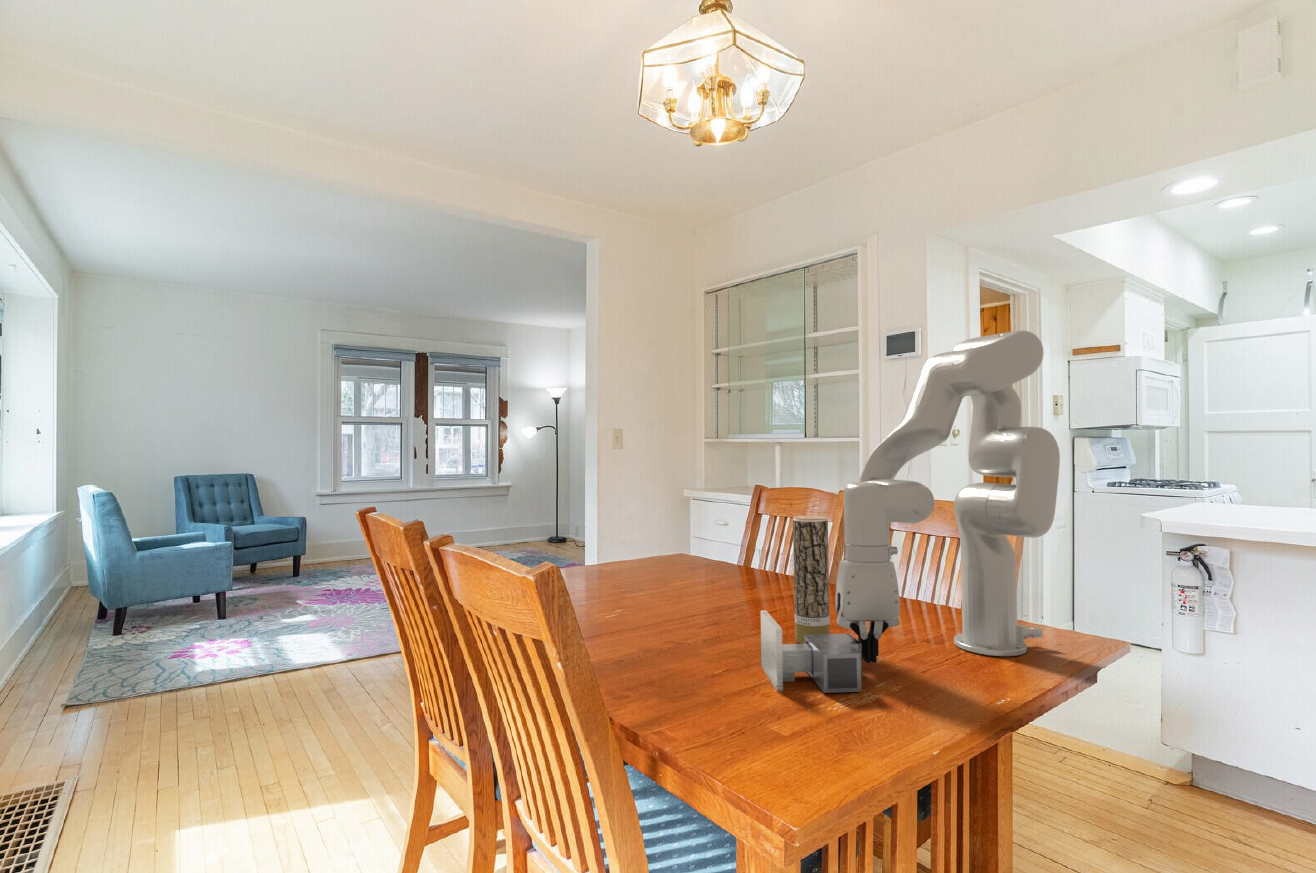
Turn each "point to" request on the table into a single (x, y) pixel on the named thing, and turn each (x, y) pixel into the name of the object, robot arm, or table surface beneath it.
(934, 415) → the robot arm
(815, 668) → the elbow
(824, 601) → the paper tube
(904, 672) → the table surface
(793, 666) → the grey t-shaped bracket
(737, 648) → the table surface
